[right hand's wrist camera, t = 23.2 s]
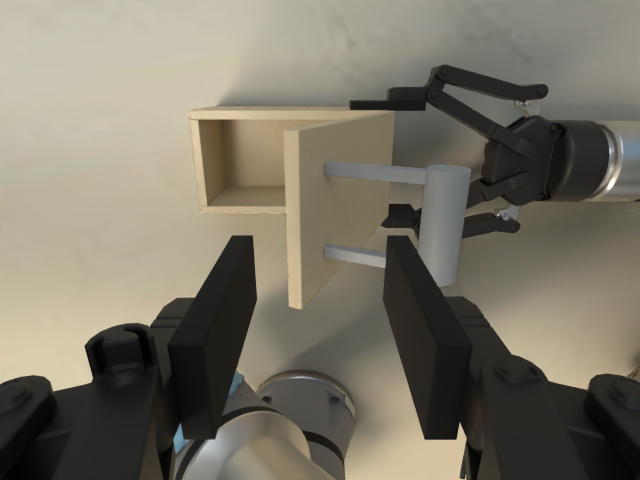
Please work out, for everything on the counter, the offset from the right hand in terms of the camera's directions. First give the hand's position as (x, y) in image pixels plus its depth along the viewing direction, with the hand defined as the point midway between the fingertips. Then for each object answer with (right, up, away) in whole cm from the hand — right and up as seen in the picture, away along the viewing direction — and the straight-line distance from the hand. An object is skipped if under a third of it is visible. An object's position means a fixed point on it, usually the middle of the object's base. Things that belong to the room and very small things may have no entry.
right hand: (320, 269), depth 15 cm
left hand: (+3, +9, +22) cm, 24 cm away
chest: (-3, +11, +28) cm, 30 cm away
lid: (+2, +5, +12) cm, 13 cm away
